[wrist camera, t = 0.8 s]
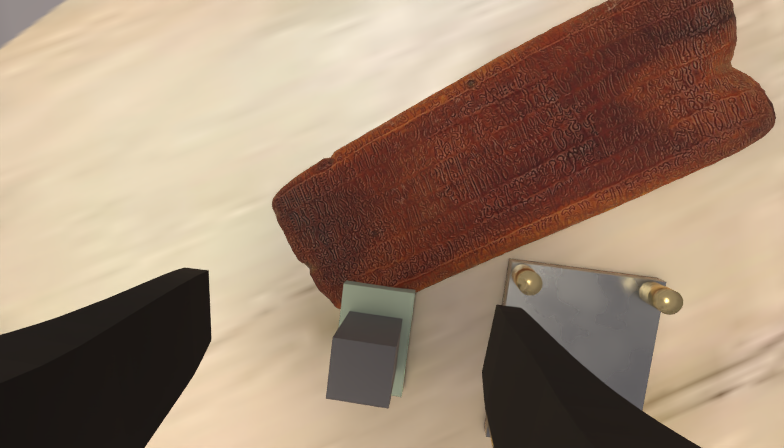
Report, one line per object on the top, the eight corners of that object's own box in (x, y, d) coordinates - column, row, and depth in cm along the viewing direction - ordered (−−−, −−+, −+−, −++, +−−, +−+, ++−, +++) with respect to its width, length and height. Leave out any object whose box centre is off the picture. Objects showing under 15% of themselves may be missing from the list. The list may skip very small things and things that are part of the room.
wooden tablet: (699, -44, 25) (718, -60, 23) (775, 131, 25) (799, 127, 23) (258, 177, 28) (247, 177, 26) (332, 329, 28) (326, 338, 27)
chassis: (625, 449, 27) (649, 483, 24) (484, 427, 27) (490, 457, 24) (657, 278, 26) (686, 291, 23) (509, 258, 26) (518, 269, 23)
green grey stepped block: (402, 387, 28) (395, 440, 22) (336, 377, 28) (312, 426, 22) (415, 288, 27) (411, 317, 22) (347, 278, 27) (325, 304, 22)
